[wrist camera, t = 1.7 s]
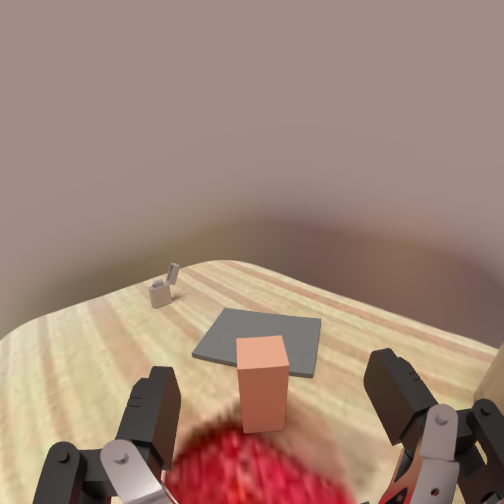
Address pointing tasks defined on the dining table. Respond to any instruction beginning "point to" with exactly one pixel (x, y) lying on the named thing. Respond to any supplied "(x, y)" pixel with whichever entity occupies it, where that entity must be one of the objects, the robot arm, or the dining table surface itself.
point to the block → (262, 382)
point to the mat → (262, 325)
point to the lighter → (163, 288)
